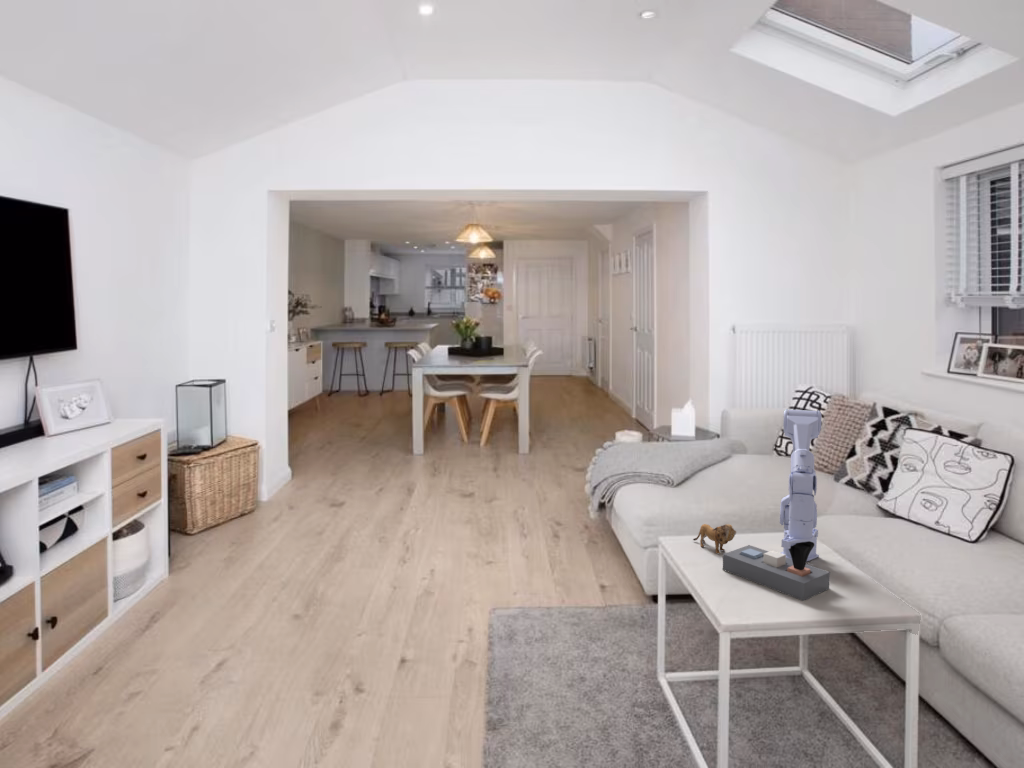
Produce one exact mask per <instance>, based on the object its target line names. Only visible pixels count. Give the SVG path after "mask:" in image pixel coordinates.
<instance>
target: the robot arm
mask: <svg viewBox="0 0 1024 768" xmlns="http://www.w3.org/2000/svg"><path fill="white" fill-rule="evenodd" d="M782 421H783V423H782V427H783V428H782V429H783V433H784V436H785V437H787V438H789V439H790V441H791V442H792V452H791V455H790V473H789V474H788V494H787V495H786V496H784V497H782V498H781V500H780V506H779V507H780V508H779V524H780V525H781V526H783V539H781V546H780V547H781V548H783V549H782V551H781V552H780V553H782V554H785V555H786V557H787V558H790V559H792V561H793V566H794V568H796V569H799V570H803V569H804V568H805V565H806V564H807V562H809V561H812V560H815V559H817V558H819V557H820V554H817V544H818V543H817V542H818V541H817V540H818V536H819V529H817V525H818V509H817V507H818V506H817V505H818V504H817V503H816V501H815V496H816V495H817V489H818V488H817V487H818V478H817V474H816V473H817V472H816V470H815V454H814V453H812V452H811V451H810V447H811V442H812V440H814V439H817V438H819V436H820V433H821V430H822V412H821V411H820V409H818V410H810V409H807V410H806V409H804V410H803V409H788V408H785V410H784V411H783V420H782Z"/></svg>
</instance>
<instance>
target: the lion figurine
mask: <svg viewBox="0 0 1024 768" xmlns="http://www.w3.org/2000/svg"><path fill="white" fill-rule="evenodd" d="M736 534H737V531H736V530H735V529H734V527H733V525H732V524H729V523H726V524H723V525H720V526H716V527H715V528H713V527H711V525H709V524H707V523H703V524H702V525H701V526H700V529H699V532H698V535H697V536H696V537H695V538H693V539H692V541H697V540H698V539H699V538H700V540H699V541H700V547H701V548H704V547H705V543H706V540H704V539H705V538H706V537H707V538H708V539H709V540H710V541H713V542H714V547H715V554H717V553H719V554H721V551H720V550H725V549H724V548H723V546H724V545H727V544H728V542H731V541H733V539H734V538H735V537H736Z"/></svg>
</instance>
